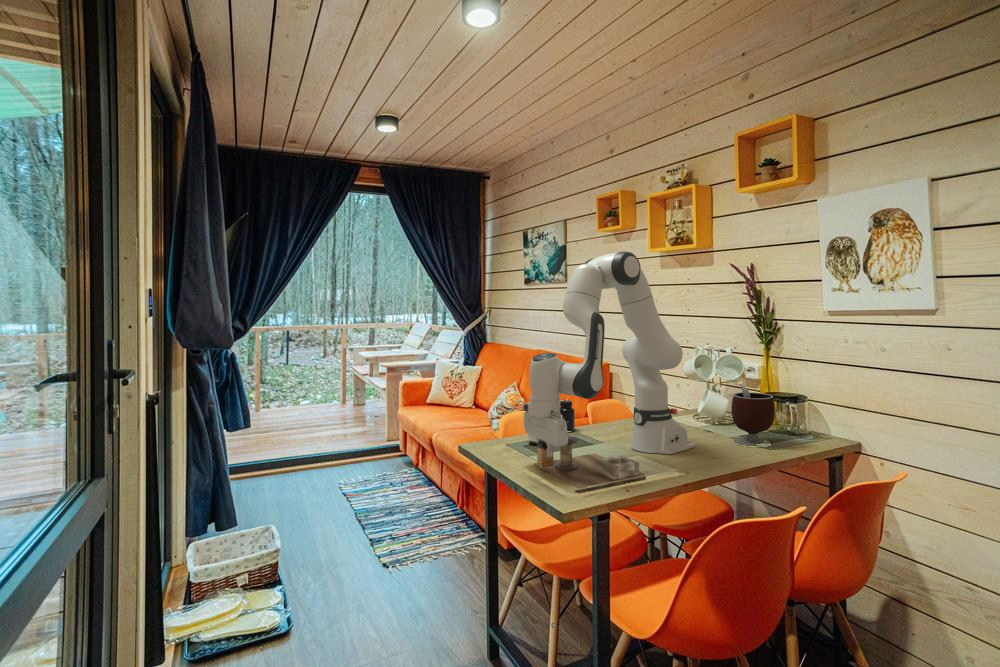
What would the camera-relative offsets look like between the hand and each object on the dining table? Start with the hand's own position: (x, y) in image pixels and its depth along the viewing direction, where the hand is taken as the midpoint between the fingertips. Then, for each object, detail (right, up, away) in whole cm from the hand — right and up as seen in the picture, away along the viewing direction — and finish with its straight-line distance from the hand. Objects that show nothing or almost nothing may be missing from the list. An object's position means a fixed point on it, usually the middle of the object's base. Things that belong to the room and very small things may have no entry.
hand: (545, 454), depth 161 cm
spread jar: (+3, -4, +39) cm, 39 cm away
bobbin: (+7, -5, +3) cm, 9 cm away
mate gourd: (+76, -3, +32) cm, 82 cm away
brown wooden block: (0, -3, 0) cm, 3 cm away
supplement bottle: (+13, -3, +55) cm, 57 cm away
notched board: (+13, -6, +1) cm, 14 cm away
